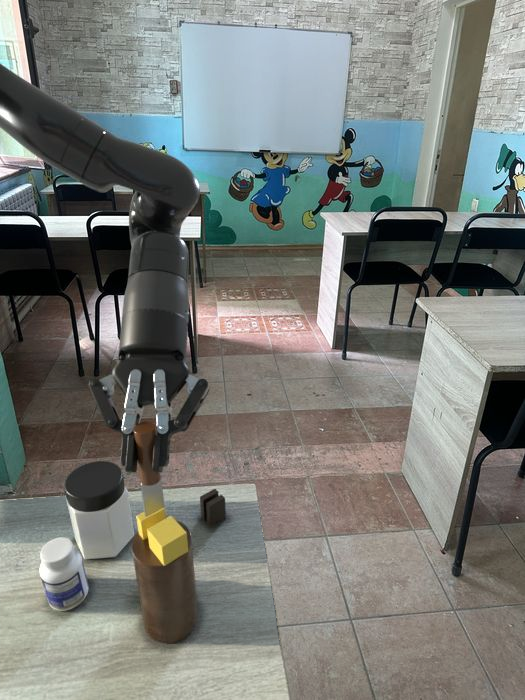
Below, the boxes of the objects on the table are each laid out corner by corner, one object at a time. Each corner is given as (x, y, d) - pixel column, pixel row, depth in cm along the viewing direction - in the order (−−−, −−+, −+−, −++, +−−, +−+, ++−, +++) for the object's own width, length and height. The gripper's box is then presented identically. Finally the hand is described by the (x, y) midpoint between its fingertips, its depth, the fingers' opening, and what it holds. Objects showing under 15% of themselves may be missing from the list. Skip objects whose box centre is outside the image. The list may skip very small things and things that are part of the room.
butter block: (149, 547, 56) (146, 528, 55) (173, 533, 58) (171, 515, 57) (164, 566, 54) (162, 547, 52) (188, 551, 56) (186, 532, 54)
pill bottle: (56, 578, 68) (43, 533, 64) (93, 577, 68) (83, 532, 65) (42, 613, 64) (28, 566, 60) (82, 612, 64) (70, 565, 60)
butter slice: (138, 534, 58) (136, 515, 56) (162, 521, 60) (159, 503, 58) (143, 540, 57) (140, 521, 56) (167, 526, 59) (165, 508, 58)
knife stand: (201, 517, 79) (199, 496, 77) (215, 508, 80) (214, 488, 78) (210, 527, 77) (209, 506, 75) (225, 518, 79) (225, 497, 77)
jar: (104, 510, 80) (93, 453, 75) (144, 526, 77) (135, 467, 72) (63, 550, 73) (48, 489, 67) (106, 569, 70) (93, 507, 64)
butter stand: (134, 614, 63) (121, 538, 57) (179, 584, 68) (172, 510, 61) (161, 655, 59) (150, 577, 52) (208, 620, 63) (203, 543, 57)
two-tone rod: (141, 510, 56) (128, 427, 50) (159, 501, 57) (149, 418, 52) (150, 521, 54) (138, 437, 49) (168, 511, 56) (159, 428, 50)
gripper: (84, 306, 52) (64, 469, 47) (212, 306, 52) (206, 469, 47) (105, 330, 59) (89, 474, 54) (217, 330, 59) (213, 474, 54)
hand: (144, 471), depth 50 cm, fingers closed on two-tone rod, 2 cm apart
